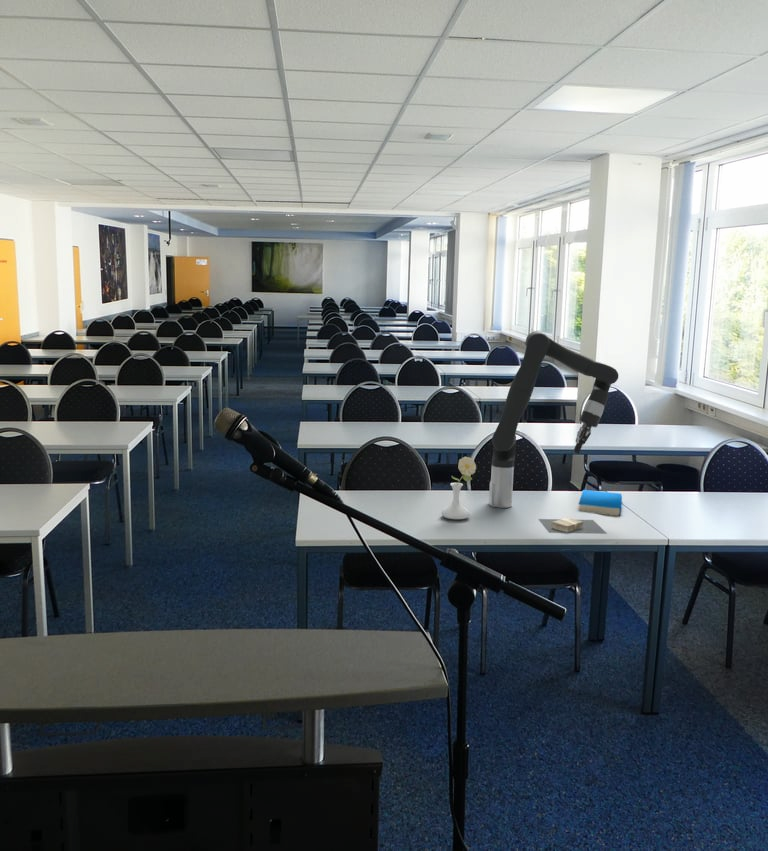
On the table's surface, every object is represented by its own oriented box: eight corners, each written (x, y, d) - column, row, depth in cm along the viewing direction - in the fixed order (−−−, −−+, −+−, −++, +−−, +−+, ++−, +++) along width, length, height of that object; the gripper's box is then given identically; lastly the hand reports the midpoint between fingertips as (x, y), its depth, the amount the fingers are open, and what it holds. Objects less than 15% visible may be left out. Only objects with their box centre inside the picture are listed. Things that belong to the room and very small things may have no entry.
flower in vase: (443, 521, 307) (445, 459, 303) (439, 513, 318) (441, 453, 314) (476, 522, 308) (479, 459, 304) (471, 514, 319) (473, 453, 315)
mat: (549, 534, 295) (549, 532, 294) (538, 520, 312) (538, 519, 312) (607, 535, 295) (607, 533, 295) (592, 521, 313) (593, 519, 313)
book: (578, 503, 327) (582, 488, 350) (578, 513, 327) (581, 498, 351) (621, 507, 322) (622, 492, 345) (620, 517, 322) (621, 502, 346)
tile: (582, 527, 302) (566, 532, 295) (567, 523, 307) (551, 527, 300) (583, 521, 301) (567, 526, 295) (567, 517, 307) (552, 521, 300)
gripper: (579, 410, 325) (563, 449, 325) (587, 409, 312) (570, 449, 312) (596, 417, 325) (580, 456, 325) (605, 416, 312) (588, 456, 311)
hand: (575, 453), depth 318 cm, fingers closed
